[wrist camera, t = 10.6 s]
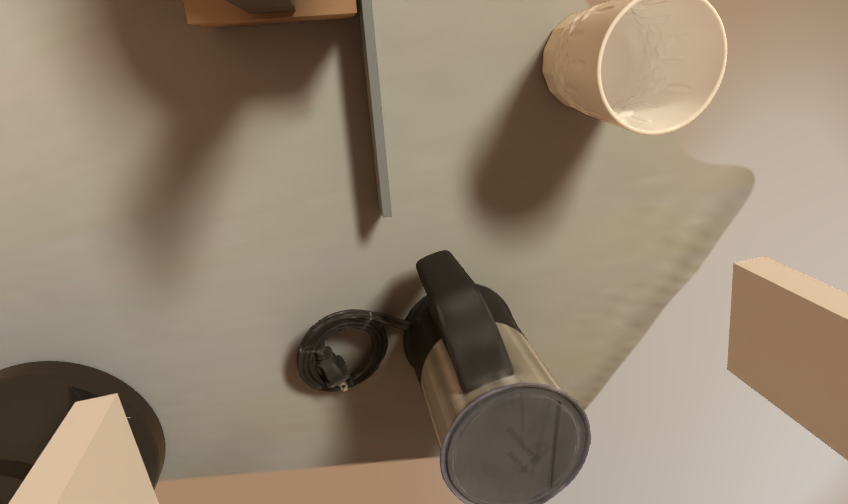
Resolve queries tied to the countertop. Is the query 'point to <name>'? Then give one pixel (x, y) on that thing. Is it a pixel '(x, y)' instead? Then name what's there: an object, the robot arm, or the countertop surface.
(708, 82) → the white cup
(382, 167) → the frame
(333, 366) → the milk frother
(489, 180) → the countertop surface
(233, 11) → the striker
